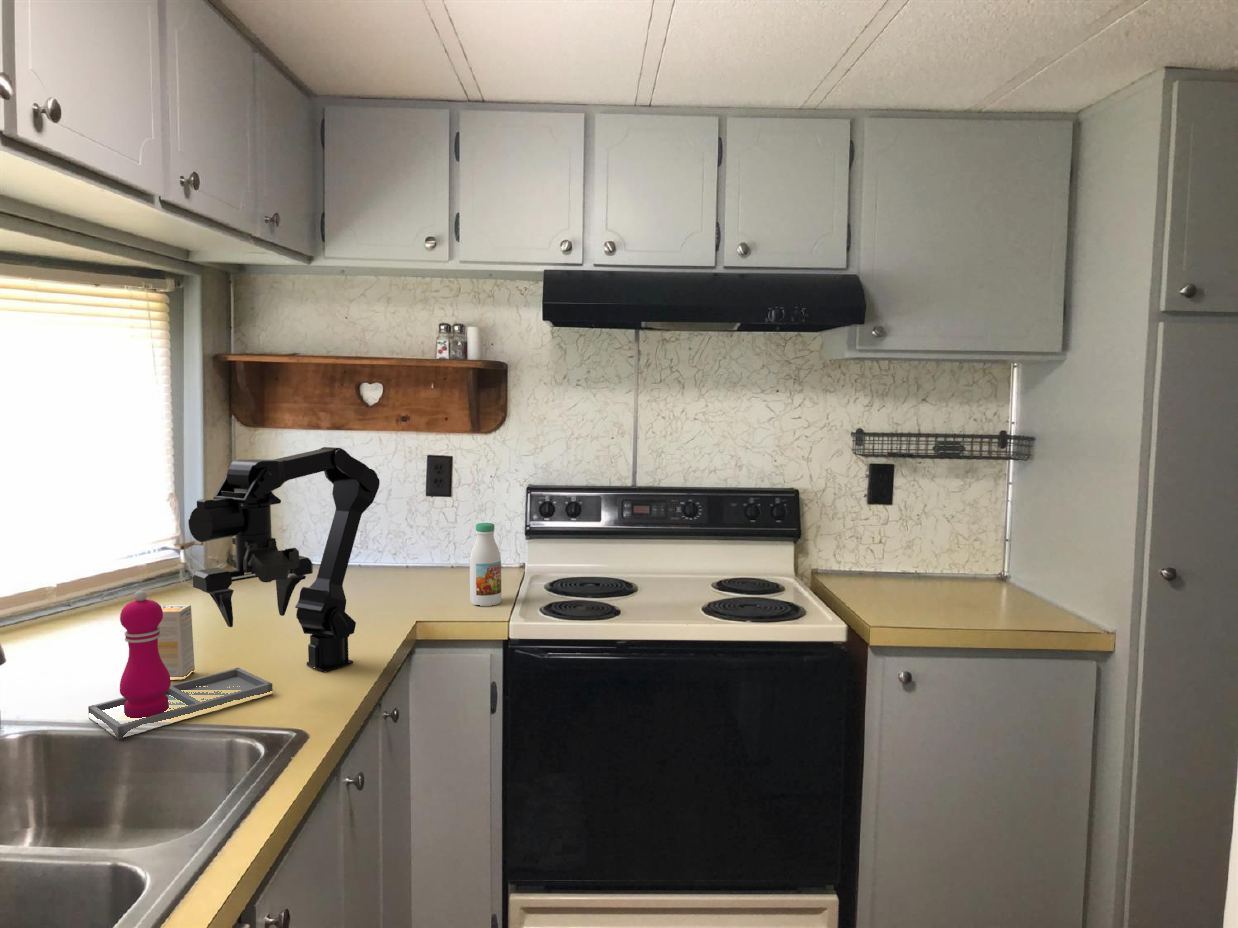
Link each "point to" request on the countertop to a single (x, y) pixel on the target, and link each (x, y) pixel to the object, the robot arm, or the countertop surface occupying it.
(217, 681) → the sorting tray
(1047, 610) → the countertop surface
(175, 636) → the supplement box
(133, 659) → the pepper mill
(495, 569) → the milk bottle
